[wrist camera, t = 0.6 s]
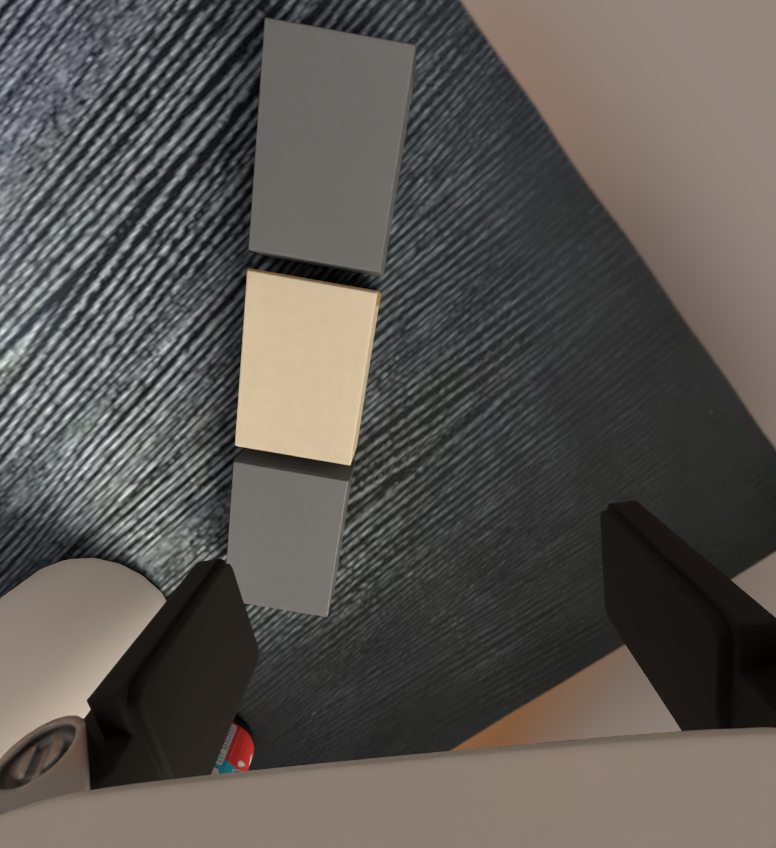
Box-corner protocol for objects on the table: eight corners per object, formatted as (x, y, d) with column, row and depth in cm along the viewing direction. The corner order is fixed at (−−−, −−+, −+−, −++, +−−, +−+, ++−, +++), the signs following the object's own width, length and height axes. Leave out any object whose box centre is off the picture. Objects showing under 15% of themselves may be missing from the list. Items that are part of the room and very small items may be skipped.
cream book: (266, 272, 25) (245, 267, 22) (381, 292, 25) (378, 290, 22) (253, 429, 28) (233, 446, 25) (357, 447, 28) (351, 466, 25)
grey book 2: (252, 441, 28) (232, 460, 25) (355, 459, 29) (349, 480, 25) (242, 568, 31) (222, 600, 28) (336, 584, 31) (327, 617, 28)
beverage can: (219, 771, 37) (101, 1068, 23) (174, 727, 36) (20, 1012, 21) (271, 745, 36) (182, 1039, 22) (227, 699, 35) (101, 979, 20)
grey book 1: (284, 57, 22) (263, 13, 19) (414, 81, 22) (416, 41, 19) (267, 256, 25) (246, 249, 22) (384, 277, 25) (381, 272, 22)
